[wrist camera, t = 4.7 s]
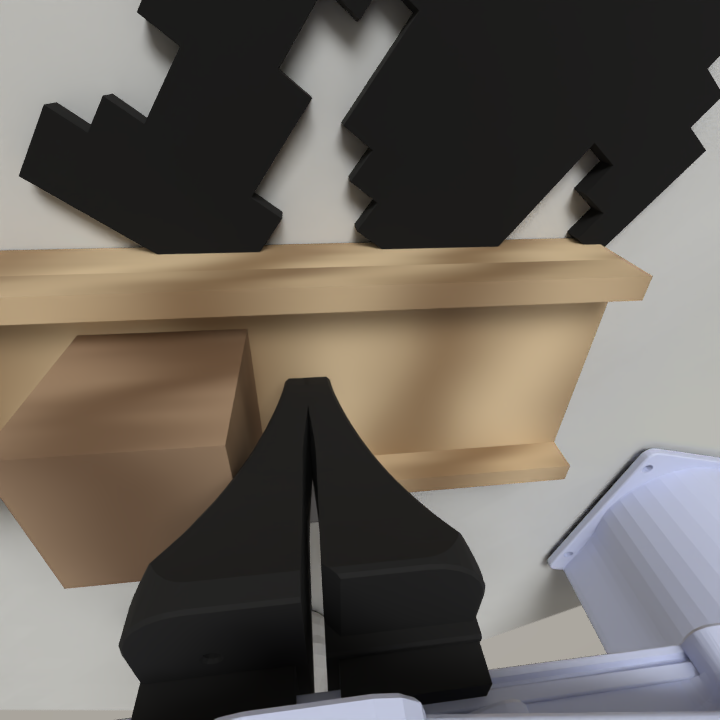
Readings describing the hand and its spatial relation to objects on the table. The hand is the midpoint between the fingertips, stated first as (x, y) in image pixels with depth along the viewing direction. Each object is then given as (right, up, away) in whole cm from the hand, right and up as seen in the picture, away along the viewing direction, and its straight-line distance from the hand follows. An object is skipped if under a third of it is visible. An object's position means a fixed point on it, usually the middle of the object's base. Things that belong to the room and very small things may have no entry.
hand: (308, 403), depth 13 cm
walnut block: (-4, 0, 0) cm, 4 cm away
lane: (-2, -1, +3) cm, 4 cm away
